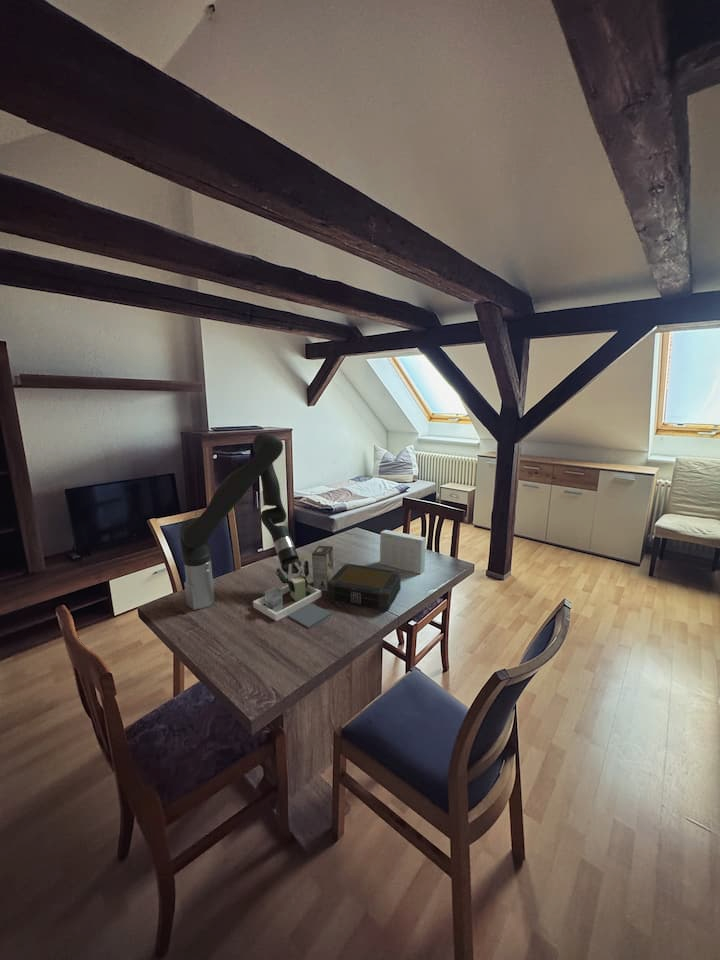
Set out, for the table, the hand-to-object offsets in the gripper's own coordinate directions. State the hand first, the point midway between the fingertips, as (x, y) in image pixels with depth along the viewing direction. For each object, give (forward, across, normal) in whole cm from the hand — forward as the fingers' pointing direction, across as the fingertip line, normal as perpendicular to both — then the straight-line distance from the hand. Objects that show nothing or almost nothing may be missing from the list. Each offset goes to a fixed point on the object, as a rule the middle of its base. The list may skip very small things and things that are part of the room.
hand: (299, 589), depth 148 cm
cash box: (+11, +23, -5) cm, 26 cm away
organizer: (+3, -5, +3) cm, 6 cm away
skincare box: (+4, +52, +2) cm, 52 cm away
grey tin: (+4, -11, +2) cm, 12 cm away
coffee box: (0, +13, +6) cm, 14 cm away
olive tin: (+2, 0, +4) cm, 5 cm away
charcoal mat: (+12, -2, -6) cm, 14 cm away
